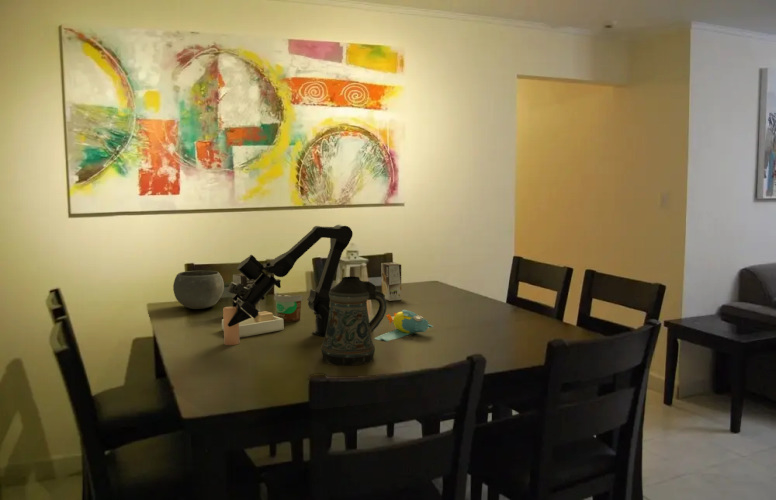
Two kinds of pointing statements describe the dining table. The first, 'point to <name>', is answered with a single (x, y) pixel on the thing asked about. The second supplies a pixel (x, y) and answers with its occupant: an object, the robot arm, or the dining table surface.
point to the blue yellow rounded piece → (404, 325)
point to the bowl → (198, 288)
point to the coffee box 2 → (391, 280)
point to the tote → (258, 326)
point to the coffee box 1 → (244, 280)
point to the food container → (288, 307)
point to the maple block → (263, 317)
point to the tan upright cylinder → (230, 332)
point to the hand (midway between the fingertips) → (227, 324)
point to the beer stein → (351, 323)
